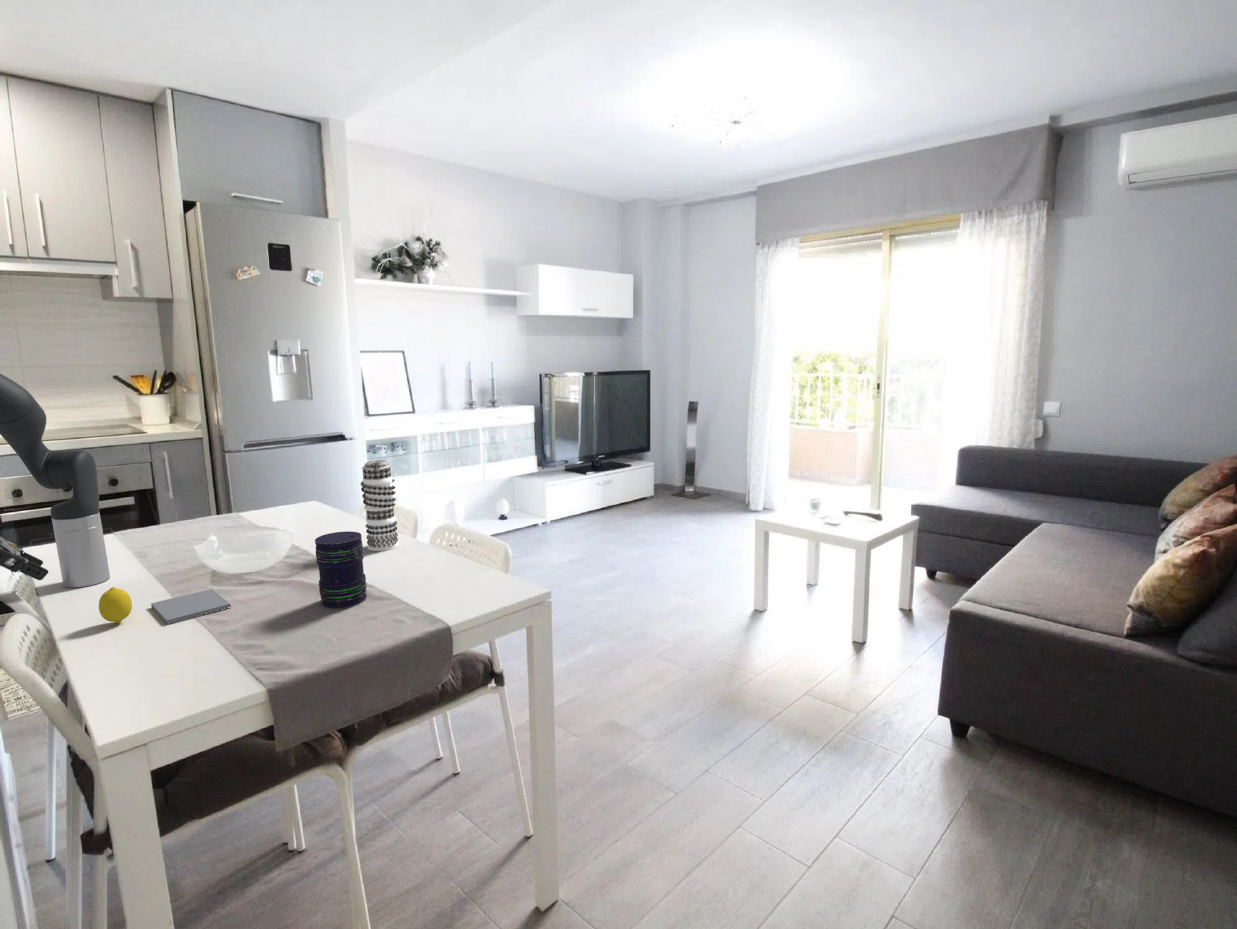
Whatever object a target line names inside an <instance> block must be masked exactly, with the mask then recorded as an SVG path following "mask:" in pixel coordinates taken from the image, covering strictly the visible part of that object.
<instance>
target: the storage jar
mask: <svg viewBox="0 0 1237 929" xmlns="http://www.w3.org/2000/svg"><path fill="white" fill-rule="evenodd" d="M314 544H315V558H316V564H317V566H318V572H319V580H318V587H319V588H318V591H319V595H320V599H321V601H320V603H321V606H322V607H323V608H325V609H328V608H330V609H331V610H338V609H339V610H340V609H341V608H342V609H348V608H352V607H355V606H354V605H356V606H358V605H360V603H361V602H362V603H364V602H365V601H366V600H367V599H366V597H367V596H368V595H367V580H366V579H367V577H366V574H365V573H364V572H365V571H364V563H363V562H364V561H363V560H364V557H365V554H364V544H363V540H362V533H360V532H358V531H349V530H348V531H337V532H330V533H326V534H322V535H319V536H318V537H316V538H315V539H314ZM367 598H368V597H367ZM365 599H366V600H365ZM364 600H365V601H364ZM363 601H364V602H363ZM362 603H361V604H362ZM357 604H358V605H357ZM347 607H348V608H347Z"/></svg>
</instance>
